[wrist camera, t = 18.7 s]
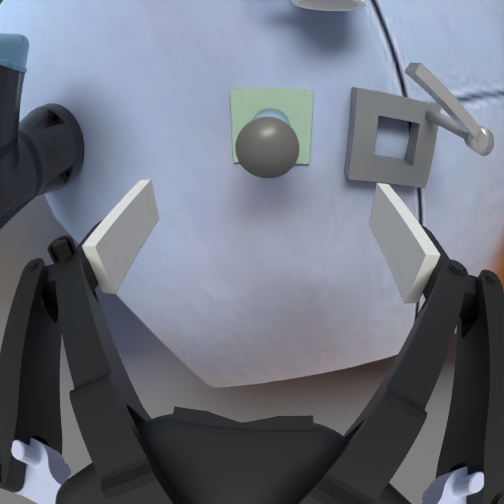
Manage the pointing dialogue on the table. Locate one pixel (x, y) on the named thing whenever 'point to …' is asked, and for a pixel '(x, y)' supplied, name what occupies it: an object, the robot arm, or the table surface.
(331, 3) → the mug
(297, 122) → the mat
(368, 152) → the socket
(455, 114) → the lever
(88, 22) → the table surface
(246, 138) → the plug
